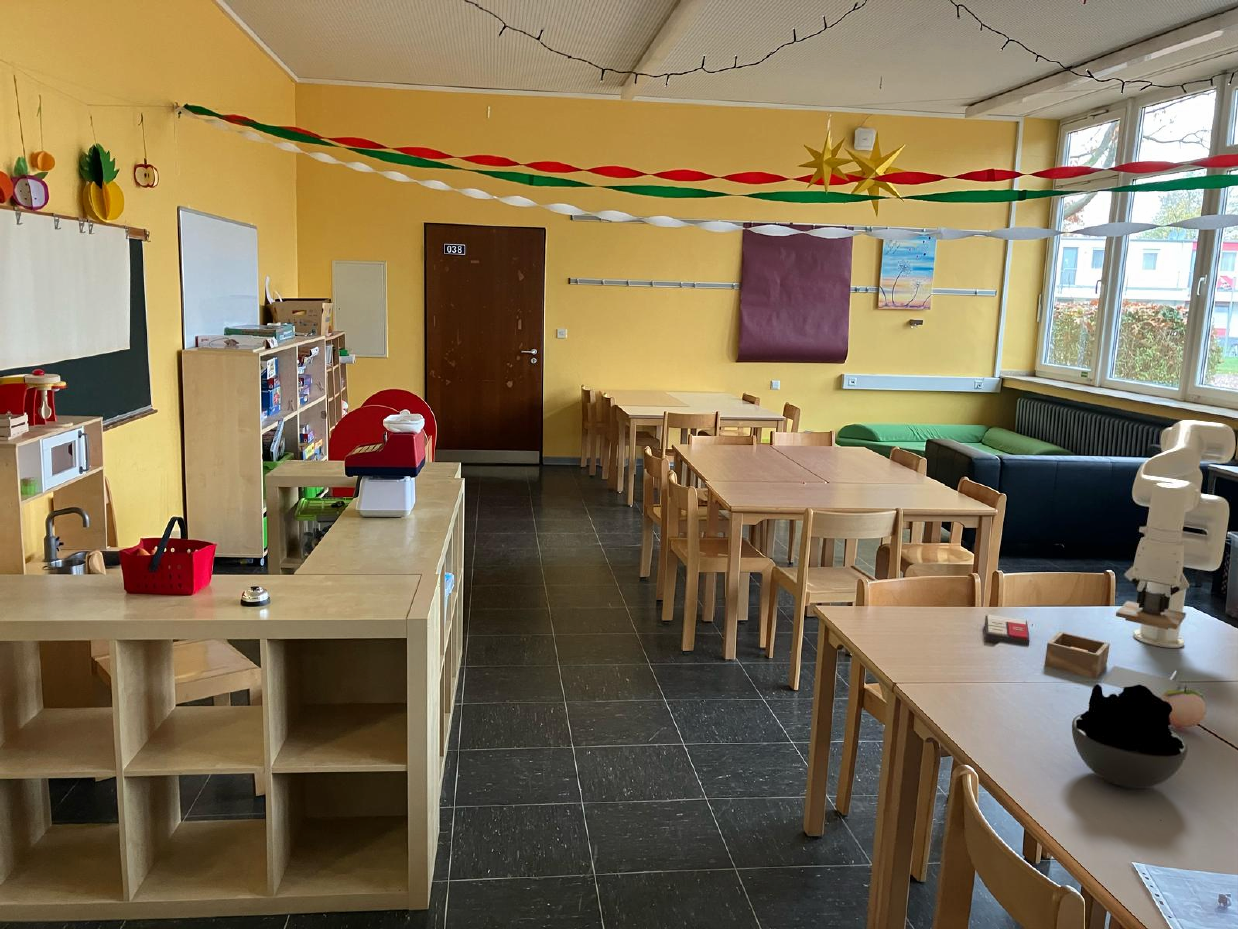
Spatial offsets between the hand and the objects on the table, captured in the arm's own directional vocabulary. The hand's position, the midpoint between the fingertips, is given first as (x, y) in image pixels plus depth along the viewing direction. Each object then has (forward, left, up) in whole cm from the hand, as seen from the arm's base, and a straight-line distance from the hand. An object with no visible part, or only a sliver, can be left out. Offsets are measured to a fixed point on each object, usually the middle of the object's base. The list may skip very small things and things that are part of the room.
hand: (1152, 608), depth 241 cm
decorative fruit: (+22, +12, -20) cm, 32 cm away
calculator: (-12, -36, -21) cm, 43 cm away
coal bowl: (+58, +7, -20) cm, 62 cm away
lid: (0, 0, -3) cm, 3 cm away
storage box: (0, -15, -20) cm, 25 cm away
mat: (0, 0, -20) cm, 20 cm away
